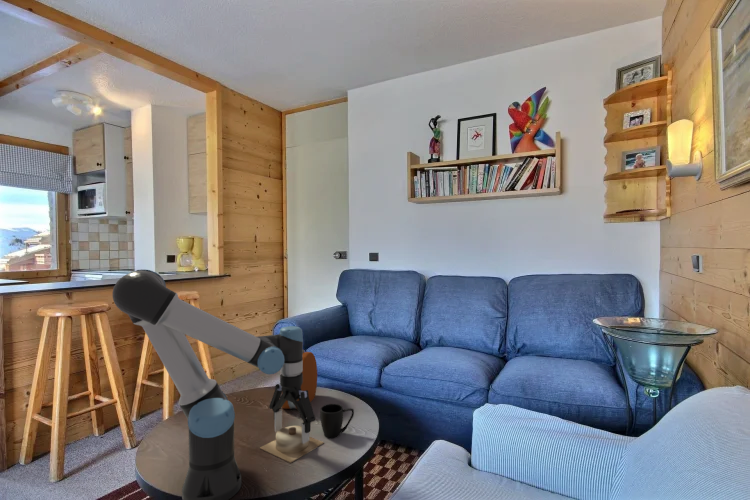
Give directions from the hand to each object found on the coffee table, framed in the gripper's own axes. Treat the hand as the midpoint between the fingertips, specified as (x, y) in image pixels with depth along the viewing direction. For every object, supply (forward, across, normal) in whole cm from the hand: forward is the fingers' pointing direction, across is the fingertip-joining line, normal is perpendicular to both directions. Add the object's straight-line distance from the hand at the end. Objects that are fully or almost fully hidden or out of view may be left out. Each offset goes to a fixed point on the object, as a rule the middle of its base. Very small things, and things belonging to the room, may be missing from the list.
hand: (291, 435), depth 130 cm
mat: (+4, 0, 0) cm, 4 cm away
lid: (+3, 0, 0) cm, 3 cm away
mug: (+4, -7, -15) cm, 17 cm away
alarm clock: (+4, +26, -27) cm, 38 cm away
